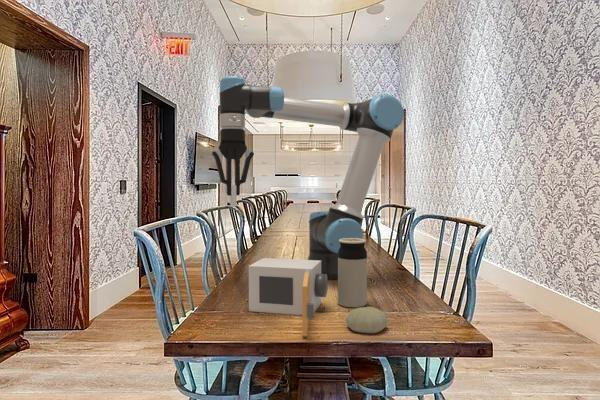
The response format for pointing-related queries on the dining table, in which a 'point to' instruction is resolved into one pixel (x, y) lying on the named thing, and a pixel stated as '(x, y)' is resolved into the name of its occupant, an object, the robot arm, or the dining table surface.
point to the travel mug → (352, 273)
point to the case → (284, 285)
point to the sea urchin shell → (366, 320)
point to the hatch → (306, 304)
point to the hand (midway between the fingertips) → (233, 206)
